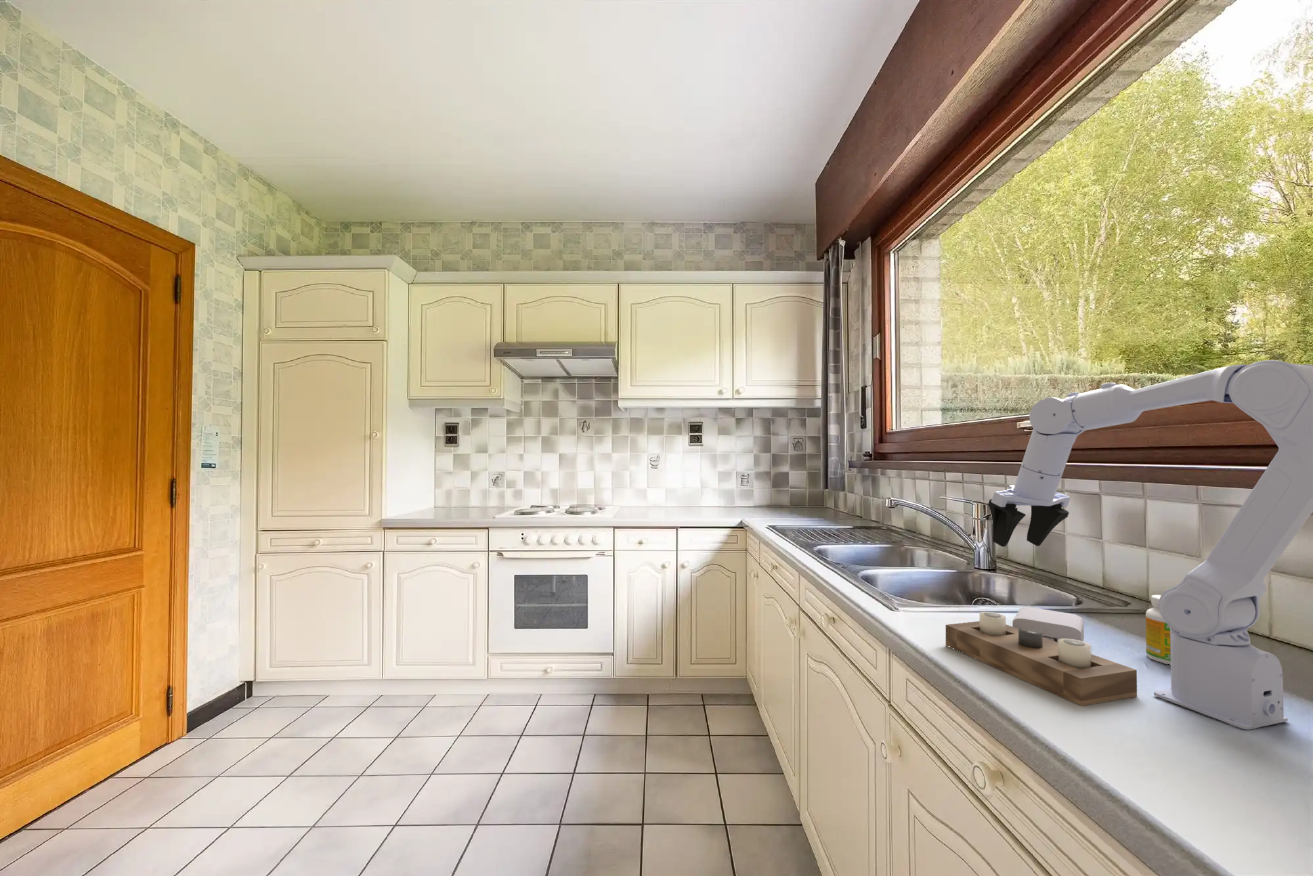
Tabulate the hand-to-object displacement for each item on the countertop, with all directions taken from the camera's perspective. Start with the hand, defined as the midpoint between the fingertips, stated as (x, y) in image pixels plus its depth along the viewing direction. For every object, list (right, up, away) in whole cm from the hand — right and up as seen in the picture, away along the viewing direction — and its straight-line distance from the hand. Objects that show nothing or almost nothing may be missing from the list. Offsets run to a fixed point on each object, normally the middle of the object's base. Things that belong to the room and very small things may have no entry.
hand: (1016, 543), depth 93 cm
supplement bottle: (+18, -17, -9) cm, 26 cm away
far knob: (-8, -14, -6) cm, 17 cm away
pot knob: (-6, -13, -12) cm, 18 cm away
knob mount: (-6, -16, -12) cm, 21 cm away
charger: (+7, -17, +1) cm, 18 cm away
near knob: (-4, -13, -18) cm, 23 cm away
